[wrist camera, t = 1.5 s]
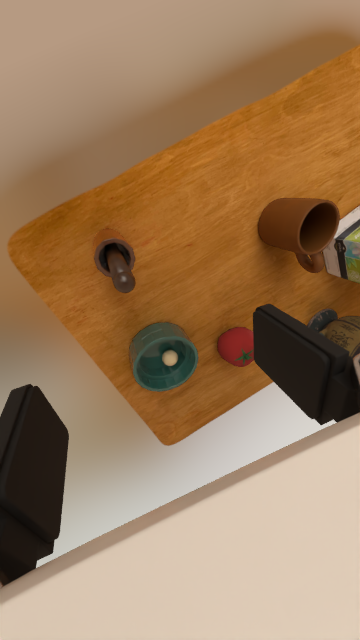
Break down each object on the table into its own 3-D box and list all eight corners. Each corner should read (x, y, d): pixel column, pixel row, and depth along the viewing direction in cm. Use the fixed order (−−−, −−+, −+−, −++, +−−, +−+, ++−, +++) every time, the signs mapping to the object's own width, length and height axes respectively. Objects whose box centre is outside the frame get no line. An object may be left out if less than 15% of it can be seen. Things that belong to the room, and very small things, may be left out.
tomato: (234, 356, 53) (253, 377, 47) (206, 349, 49) (222, 371, 43) (252, 326, 51) (274, 343, 45) (223, 316, 47) (243, 335, 41)
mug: (300, 250, 46) (344, 262, 38) (268, 272, 46) (306, 288, 38) (288, 188, 39) (339, 187, 31) (251, 213, 39) (292, 218, 31)
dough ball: (162, 361, 46) (166, 371, 44) (158, 349, 45) (162, 359, 42) (176, 356, 47) (181, 365, 44) (173, 344, 45) (178, 353, 43)
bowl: (137, 380, 47) (143, 400, 42) (120, 333, 41) (124, 350, 36) (191, 360, 49) (201, 377, 45) (182, 313, 43) (193, 327, 39)
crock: (99, 263, 35) (102, 282, 27) (88, 232, 32) (88, 243, 25) (128, 255, 36) (139, 272, 28) (119, 225, 33) (128, 234, 26)
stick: (105, 253, 34) (118, 298, 19) (101, 240, 33) (111, 278, 18) (117, 250, 34) (139, 292, 19) (114, 237, 33) (133, 271, 18)
